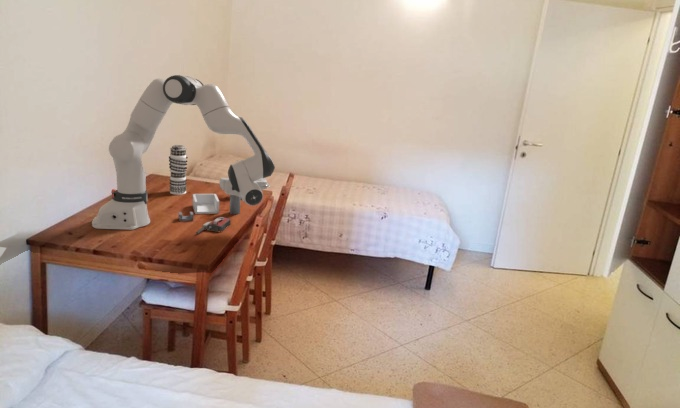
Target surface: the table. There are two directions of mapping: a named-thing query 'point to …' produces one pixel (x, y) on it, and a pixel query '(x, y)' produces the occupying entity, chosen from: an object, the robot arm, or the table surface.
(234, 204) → the grey bottle
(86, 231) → the table surface
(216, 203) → the box
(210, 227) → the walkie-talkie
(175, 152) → the decorative candle
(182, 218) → the cable clip
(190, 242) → the table surface
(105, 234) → the table surface
